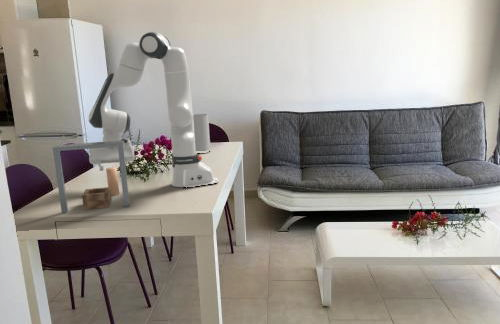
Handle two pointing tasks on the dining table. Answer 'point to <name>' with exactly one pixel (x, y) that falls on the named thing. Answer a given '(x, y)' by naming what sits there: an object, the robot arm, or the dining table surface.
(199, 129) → the cylinder vase
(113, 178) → the terracotta peg
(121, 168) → the grey arch frame
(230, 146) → the dining table surface
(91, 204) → the walnut socket
